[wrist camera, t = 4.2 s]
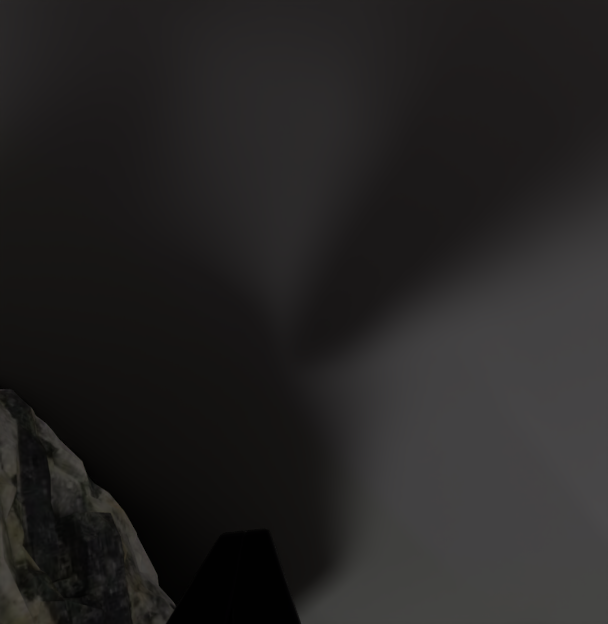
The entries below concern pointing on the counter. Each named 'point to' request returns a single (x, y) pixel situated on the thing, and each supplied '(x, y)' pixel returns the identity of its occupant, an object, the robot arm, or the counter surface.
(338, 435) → the counter surface
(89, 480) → the rock
